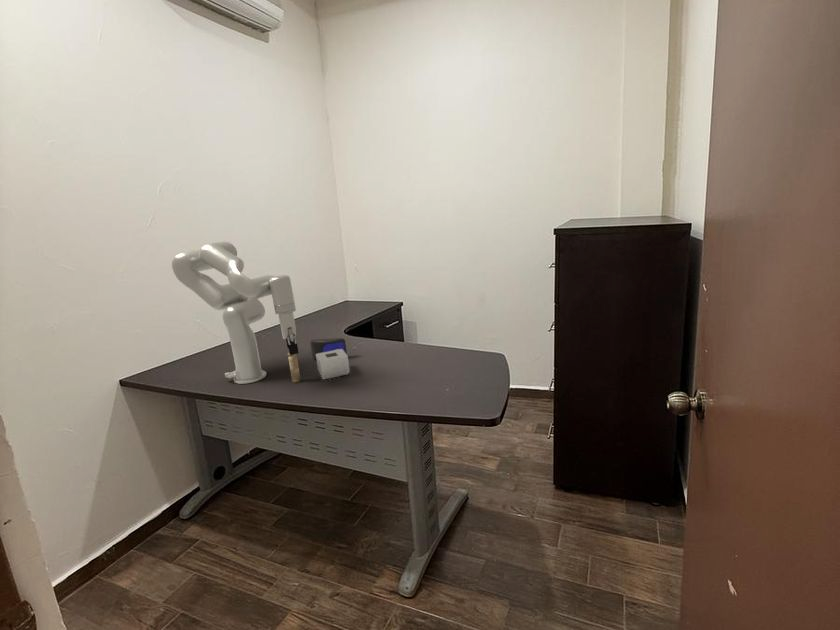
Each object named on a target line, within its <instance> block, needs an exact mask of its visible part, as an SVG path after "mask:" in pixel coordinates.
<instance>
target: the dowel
mask: <svg viewBox="0 0 840 630" xmlns="http://www.w3.org/2000/svg"><path fill="white" fill-rule="evenodd" d="M297 355H298V354H293V355H290V352H289V351H288V352H287V357H288V363H289V364H288V365H289V371H290V377H291V381H292V382H298V381H300V380H301V374H300V368H299V361H298V357H297ZM300 382H301V381H300ZM298 383H299V382H298Z"/></svg>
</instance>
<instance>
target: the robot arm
mask: <svg viewBox="0 0 840 630" xmlns="http://www.w3.org/2000/svg"><path fill="white" fill-rule="evenodd" d="M244 267H245V262H244V260H242V259H241V258H240V257H239V256H238V250H237V248H236V247H235V246H234V244H232V243H231V242H229V241H218V242H211V243H207V244H204V245H203V246H201V248H200V249H196V250H190V251H189V250H188V251H184V252H183V251H182V252H180V253H177V254H176V255H175V256H174V257H173V258H172V260H171V268H172V272H173V273H174V275H175V277H176V278H177V280H178V281H179V282H180V283H181V284H182V285H184V286H185V287H187V288H188V289H190V290H191V291H193V292H194V293H195V294H196V295H197V296H198V297H200V299H202V300H203V301H204V302H205V303H206V304H208V306H210V307H211V308H212V309H214V310H215V311H223V310H224V311H223V312H222V320H223V324H224V325H225V327H226V330H227V333H228V337H229V341H230V347H231V351H232V352H231V353H232V355H233V361H234V365H235V370H232V371H231V372H225V373H224V377H225V379H226V378H228V379H232V378H233V382H234V383H235V384H238V385H244V384H245V385H246V384H252V383H256V382H259V381H260V380H263V379H264V378H266V376H267V372H266V370H263V369H262V365H261V360H260V354H259V353H260V352H259V348H258V344H257V337H256V334H255V331H254V330H253V329H252V328H251V326H250V325H251V324H254V323H257V322H259V321H261V320H262V319H263V318H264V317H265V315H266V314H265V313H266V309H265V306H264V305H263V303H262V302H261V300H259V299H261V298H264V297H267V296H271V297H272V301H273V302H272V303H273V307H274V312H275V313H274V314H275V315H278V320H279V325H280V331H281V335H282V338H283V340H285V342H286V347H287V349H288V353H289V352H290V355H293V354H296V355H298V354H300V353H299V352H300V351H299V349H298V342H297V339H296V338H297V331H296V330H297V329H296V321H295V315H294V312H296V310H297V309H296V303H295V298H294V292H293V288H292V287H293V286H292V282H291V281H292V280H291V278H290V276H289V275H287V274H282V275H263V276H259V277H255V278H250V277H248V276H246V275H244V274H243V273H242V272H243V270H244ZM212 269H214V270H216V271H218V272H219V273H221V274H222V275H224V276H225V277H227V280H228V284H219V283H218V282H216V281H215V279H214V278H212V277H210V276H209V275H207V274H204V273H202V272H203V271H208V270H212ZM201 271H202V272H201Z"/></svg>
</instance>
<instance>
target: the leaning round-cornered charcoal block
mask: <svg viewBox="0 0 840 630" xmlns="http://www.w3.org/2000/svg"><path fill="white" fill-rule="evenodd" d="M309 344H310V349H311V356H312V359H313V360H315V359H316V354H318V353H323V352H328V351H333V350H338V349H343V351H344V352H345V353H346V354H347V355H348V353H347V344H346V340H345V338H343V337H339V338H336V337H335V338H316V339H311V340H310V342H309ZM315 361H317V359H316V360H315Z"/></svg>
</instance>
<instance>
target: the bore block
mask: <svg viewBox="0 0 840 630" xmlns="http://www.w3.org/2000/svg"><path fill="white" fill-rule="evenodd" d="M316 359H317V360H316V365H317V371H319V372H318V374H319V373H320V374H319V376H320V375H321V376H320V378H321V377H322V378H321V380H322V379H325V378H329V377H333V376H337V375H341V374H345V373H349V372H350V373H351V371H350V364H349V363H350V362H349V356H348V353H347V354H346V353H345V352H344V351H343V349H338V350H333V351H328V352H323V353H318V354H316Z"/></svg>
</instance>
